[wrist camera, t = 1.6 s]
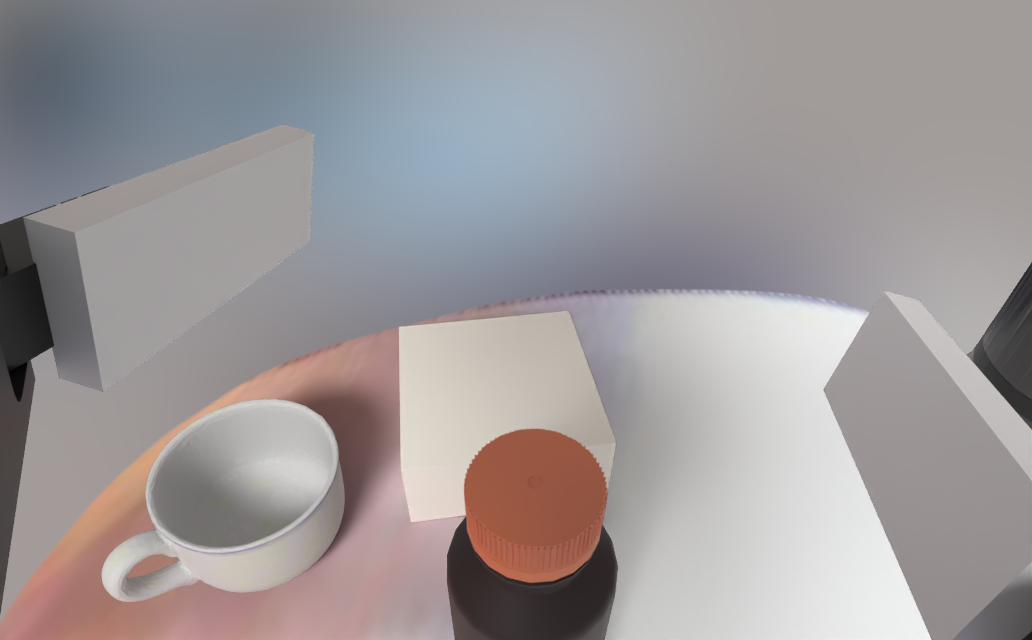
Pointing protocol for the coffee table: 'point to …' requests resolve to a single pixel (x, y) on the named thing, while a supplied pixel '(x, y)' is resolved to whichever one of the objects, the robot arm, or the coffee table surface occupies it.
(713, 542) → the coffee table surface
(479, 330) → the riser
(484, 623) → the vinegar
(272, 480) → the teacup
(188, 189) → the robot arm
